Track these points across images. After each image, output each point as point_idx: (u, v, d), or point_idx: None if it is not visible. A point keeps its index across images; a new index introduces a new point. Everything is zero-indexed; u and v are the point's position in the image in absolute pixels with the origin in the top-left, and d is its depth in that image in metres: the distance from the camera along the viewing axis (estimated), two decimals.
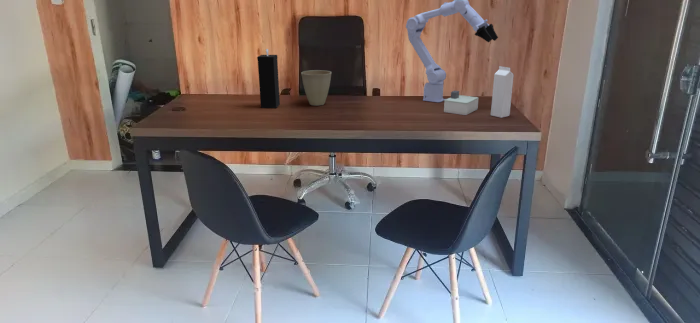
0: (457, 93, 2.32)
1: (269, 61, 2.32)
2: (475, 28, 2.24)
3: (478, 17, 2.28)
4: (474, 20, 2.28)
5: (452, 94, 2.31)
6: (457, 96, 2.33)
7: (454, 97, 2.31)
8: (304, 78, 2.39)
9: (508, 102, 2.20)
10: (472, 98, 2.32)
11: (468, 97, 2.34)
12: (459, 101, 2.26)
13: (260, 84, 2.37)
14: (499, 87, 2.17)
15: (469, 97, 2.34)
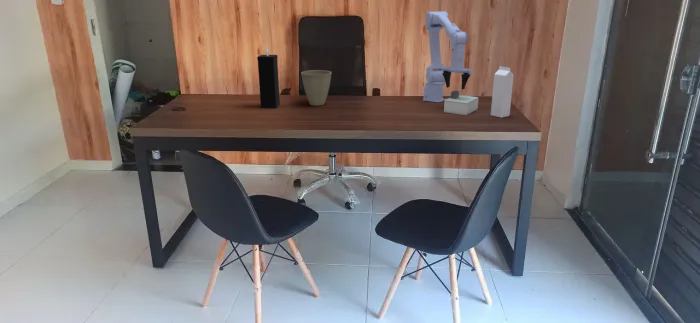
0: (457, 93, 2.32)
1: (269, 61, 2.32)
2: None
3: (452, 62, 2.26)
4: None
5: (452, 94, 2.31)
6: (457, 96, 2.33)
7: (454, 97, 2.31)
8: (304, 78, 2.39)
9: (508, 102, 2.20)
10: (472, 98, 2.32)
11: (468, 97, 2.34)
12: (459, 101, 2.26)
13: (260, 84, 2.37)
14: (499, 87, 2.17)
15: (469, 97, 2.34)
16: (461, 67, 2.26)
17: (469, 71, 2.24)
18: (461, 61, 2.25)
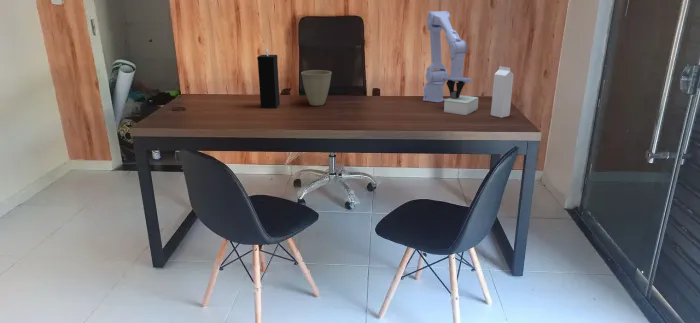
0: None
1: (269, 61, 2.32)
2: None
3: (451, 71, 2.28)
4: None
5: (452, 94, 2.31)
6: None
7: (454, 97, 2.31)
8: (304, 78, 2.39)
9: (508, 102, 2.20)
10: (472, 98, 2.32)
11: (468, 97, 2.34)
12: (459, 101, 2.26)
13: (260, 84, 2.37)
14: (499, 87, 2.17)
15: (469, 97, 2.34)
16: (460, 76, 2.28)
17: (468, 80, 2.26)
18: (460, 70, 2.27)
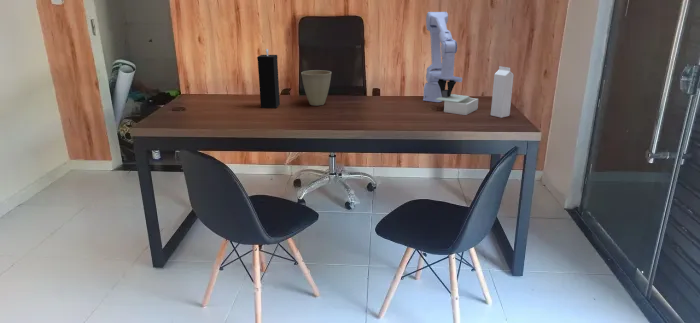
0: None
1: (269, 61, 2.32)
2: None
3: (442, 70, 2.30)
4: None
5: (443, 93, 2.34)
6: None
7: (445, 96, 2.34)
8: (304, 78, 2.39)
9: (508, 102, 2.20)
10: (463, 97, 2.34)
11: (459, 96, 2.36)
12: (450, 100, 2.28)
13: (260, 84, 2.37)
14: (499, 87, 2.17)
15: (460, 96, 2.36)
16: (451, 75, 2.30)
17: (459, 79, 2.28)
18: (451, 69, 2.29)
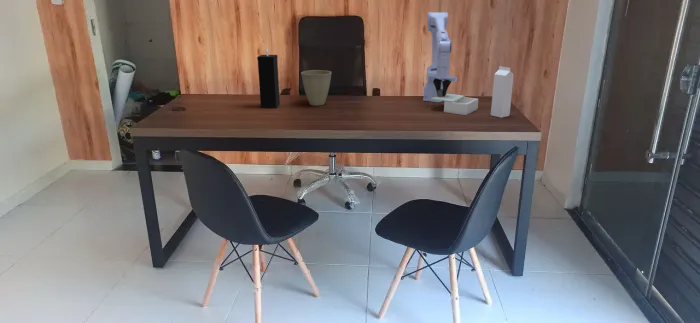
0: None
1: (269, 61, 2.32)
2: None
3: (437, 70, 2.32)
4: None
5: (438, 92, 2.35)
6: None
7: (440, 95, 2.35)
8: (304, 78, 2.39)
9: (508, 102, 2.20)
10: (458, 96, 2.35)
11: (454, 95, 2.38)
12: (445, 99, 2.30)
13: (260, 84, 2.37)
14: (499, 87, 2.17)
15: (455, 95, 2.38)
16: (446, 75, 2.31)
17: (454, 79, 2.30)
18: (446, 69, 2.30)
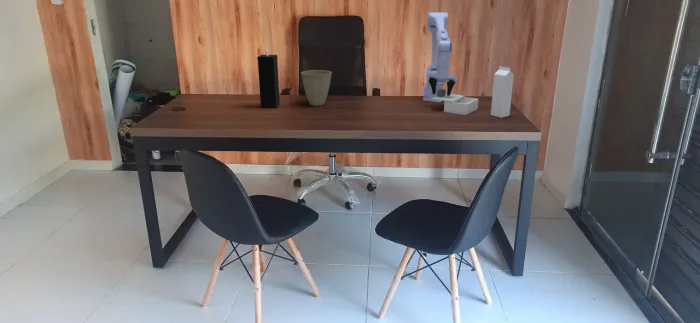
0: (443, 91, 2.36)
1: (269, 61, 2.32)
2: None
3: (437, 69, 2.32)
4: None
5: (438, 92, 2.35)
6: (443, 94, 2.36)
7: (440, 95, 2.35)
8: (304, 78, 2.39)
9: (508, 102, 2.20)
10: (458, 96, 2.35)
11: (454, 95, 2.38)
12: (445, 99, 2.30)
13: (260, 84, 2.37)
14: (499, 87, 2.17)
15: (455, 95, 2.38)
16: (446, 74, 2.31)
17: (454, 78, 2.30)
18: (446, 68, 2.30)
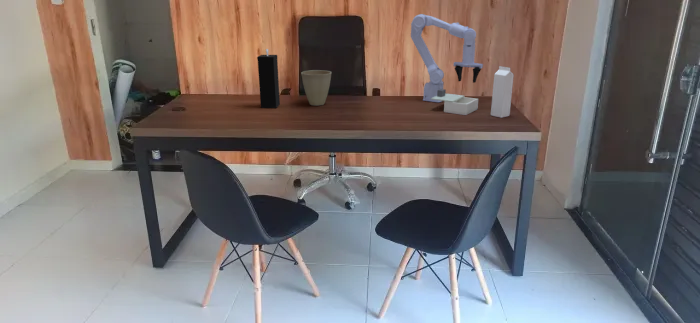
0: (443, 91, 2.36)
1: (269, 61, 2.32)
2: None
3: (463, 57, 2.41)
4: None
5: (438, 92, 2.35)
6: (443, 94, 2.36)
7: (440, 95, 2.35)
8: (304, 78, 2.39)
9: (508, 102, 2.20)
10: (458, 96, 2.35)
11: (454, 95, 2.38)
12: (445, 99, 2.30)
13: (260, 84, 2.37)
14: (499, 87, 2.17)
15: (455, 95, 2.38)
16: (472, 62, 2.41)
17: (480, 65, 2.39)
18: (472, 56, 2.40)
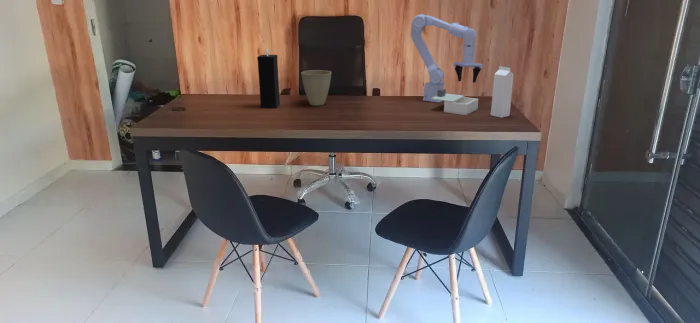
0: (443, 91, 2.36)
1: (269, 61, 2.32)
2: None
3: (463, 57, 2.41)
4: None
5: (438, 92, 2.35)
6: (443, 94, 2.36)
7: (440, 95, 2.35)
8: (304, 78, 2.39)
9: (508, 102, 2.20)
10: (458, 96, 2.35)
11: (454, 95, 2.38)
12: (445, 99, 2.30)
13: (260, 84, 2.37)
14: (499, 87, 2.17)
15: (455, 95, 2.38)
16: (472, 62, 2.41)
17: (480, 65, 2.39)
18: (472, 56, 2.40)
